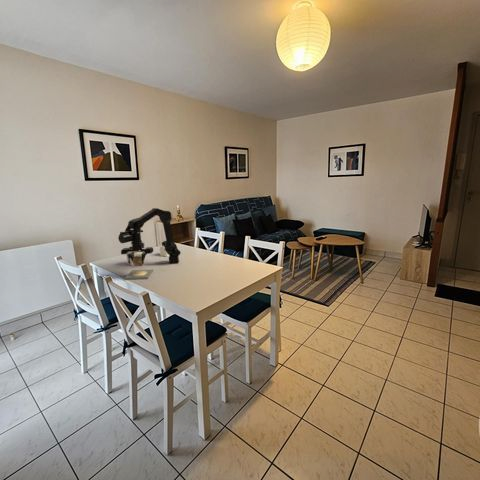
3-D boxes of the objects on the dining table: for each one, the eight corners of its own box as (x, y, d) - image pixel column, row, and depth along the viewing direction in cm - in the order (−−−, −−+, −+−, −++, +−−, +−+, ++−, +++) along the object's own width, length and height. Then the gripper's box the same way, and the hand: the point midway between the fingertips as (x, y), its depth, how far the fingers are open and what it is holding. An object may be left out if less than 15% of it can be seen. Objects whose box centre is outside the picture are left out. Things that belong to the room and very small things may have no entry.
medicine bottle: (172, 254, 215) (171, 240, 212) (166, 256, 209) (165, 242, 206) (165, 253, 218) (164, 239, 215) (160, 255, 212) (158, 241, 209)
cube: (143, 263, 170) (143, 256, 169) (141, 266, 166) (140, 258, 164) (136, 263, 170) (135, 256, 169) (133, 266, 165) (132, 258, 164)
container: (133, 265, 188) (131, 248, 185) (127, 263, 192) (125, 247, 189) (142, 263, 194) (141, 246, 191) (136, 261, 198) (135, 244, 195)
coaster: (153, 271, 177) (153, 269, 176) (147, 278, 163) (147, 276, 163) (132, 271, 176) (132, 270, 175) (125, 279, 162) (124, 277, 162)
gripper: (154, 236, 172) (156, 259, 176) (125, 237, 171) (128, 260, 175) (150, 240, 162) (152, 264, 165) (119, 241, 160) (122, 265, 164)
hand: (138, 263), depth 168 cm, fingers closed on cube, 5 cm apart
